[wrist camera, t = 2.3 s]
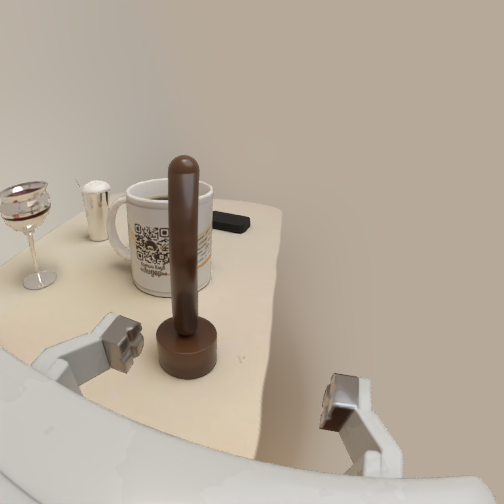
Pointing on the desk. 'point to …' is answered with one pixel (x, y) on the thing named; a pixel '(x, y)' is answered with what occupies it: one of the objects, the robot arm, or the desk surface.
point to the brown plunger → (185, 281)
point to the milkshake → (96, 208)
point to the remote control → (230, 222)
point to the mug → (158, 234)
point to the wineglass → (28, 221)
